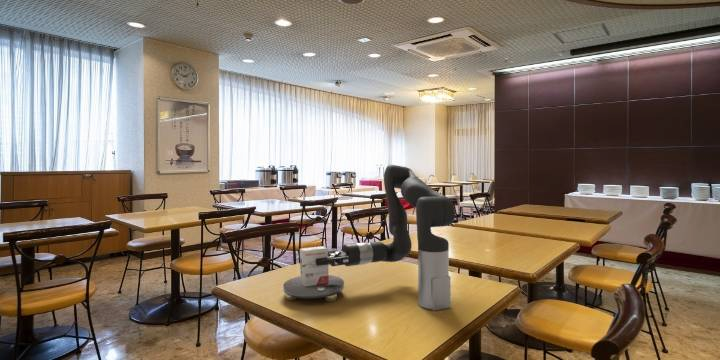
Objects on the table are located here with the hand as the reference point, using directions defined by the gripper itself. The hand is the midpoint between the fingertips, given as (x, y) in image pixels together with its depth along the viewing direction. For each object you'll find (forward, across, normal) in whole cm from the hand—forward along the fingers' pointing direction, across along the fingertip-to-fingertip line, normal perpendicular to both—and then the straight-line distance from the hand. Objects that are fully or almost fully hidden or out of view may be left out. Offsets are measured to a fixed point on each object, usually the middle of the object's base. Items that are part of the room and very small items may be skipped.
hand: (312, 259), depth 126 cm
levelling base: (0, 0, +12) cm, 12 cm away
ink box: (-1, 0, +8) cm, 8 cm away
